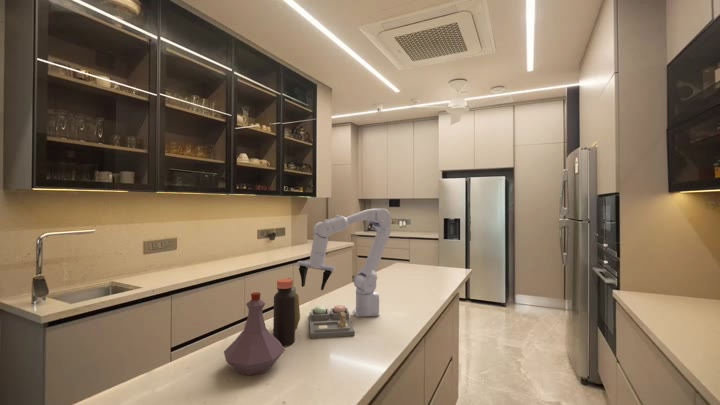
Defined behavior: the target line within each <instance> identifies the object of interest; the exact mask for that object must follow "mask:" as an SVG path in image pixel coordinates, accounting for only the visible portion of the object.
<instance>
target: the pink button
mask: <svg viewBox="0 0 720 405" xmlns="http://www.w3.org/2000/svg"><path fill="white" fill-rule="evenodd" d="M333 308H334V313H335V314H340V312H345V308H346V306H345V305H335V306H333Z"/></svg>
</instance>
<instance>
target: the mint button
mask: <svg viewBox="0 0 720 405" xmlns="http://www.w3.org/2000/svg"><path fill="white" fill-rule="evenodd" d="M314 309H315V310H314V313H315V314H316V315H317V314H326V309H327V307H326V306H323V305H318V306H315V307H314Z"/></svg>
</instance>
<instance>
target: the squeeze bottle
mask: <svg viewBox="0 0 720 405" xmlns="http://www.w3.org/2000/svg"><path fill="white" fill-rule="evenodd" d="M287 279H291V280H292V277H287ZM291 291H292V292H293V293H294V294H295V330H296V329H298V326H299V322H300V320H301V311H300V300H299V294H298V293H296V292H297V288H296V286H295V287H294V286H293V287H292V289H291Z"/></svg>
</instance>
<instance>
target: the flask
mask: <svg viewBox="0 0 720 405" xmlns="http://www.w3.org/2000/svg"><path fill="white" fill-rule="evenodd" d="M250 298H251V299H250V300H249V301H247V303H245V305H246V307H247V309H248V312H247V314H248V315H247V319H246V321H245V326H244V327H243V328H244V329H243V330H242V331H241V332H240V334H239V335H238V336H237V338H236V339H235V340H234V341H232V343H231V344H230V345H229V346H228V347H227V348H226V349H225V350H224V351H223V354H224V358H225V361H226V363H227V364H228V365H229V366H231V367H232V368H233V370H235V371H236V372H237V374H241V373H242V375H248V376H254V375H258V373H259V374H263V373H266V372H267V371H268V370H269V369H270V368H272V366H273V365H274V364H275V363H276V362H277V360H279V358H280V357H281V356H282V355H283V353H284V352H285V351H286V349H285V346H282V344H281V343H280V341H278V340H277V339H276V338H275V337H274V336H273V334H272V333H271V332H270V331H269V330H268V329H267V326H266V323H265V319H264V313H263V312H264V311H263V310H264V306H265V305H266V302H264V301H263V300H262V299H261V292H257V291H256V292H251V293H250ZM266 370H267V371H266ZM253 374H254V375H253Z"/></svg>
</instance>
